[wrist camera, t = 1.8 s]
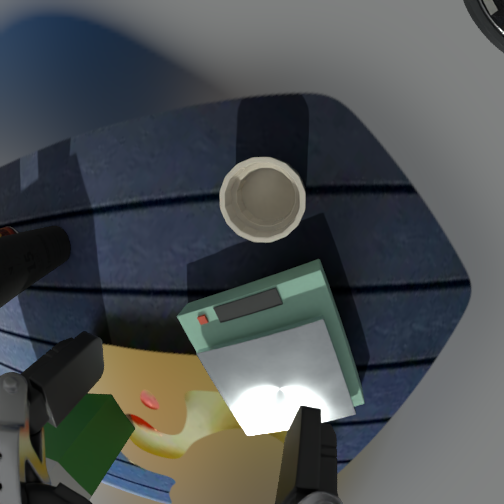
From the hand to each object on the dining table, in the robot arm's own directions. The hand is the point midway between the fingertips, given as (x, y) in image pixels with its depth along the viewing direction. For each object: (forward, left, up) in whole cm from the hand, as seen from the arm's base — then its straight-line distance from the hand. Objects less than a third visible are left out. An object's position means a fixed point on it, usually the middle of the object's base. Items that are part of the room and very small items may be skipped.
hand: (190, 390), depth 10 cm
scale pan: (+2, +12, -15) cm, 19 cm away
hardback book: (+38, +15, -19) cm, 45 cm away
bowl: (-3, -5, -19) cm, 19 cm away
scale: (+2, +10, -19) cm, 22 cm away
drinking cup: (+23, -10, -19) cm, 31 cm away
